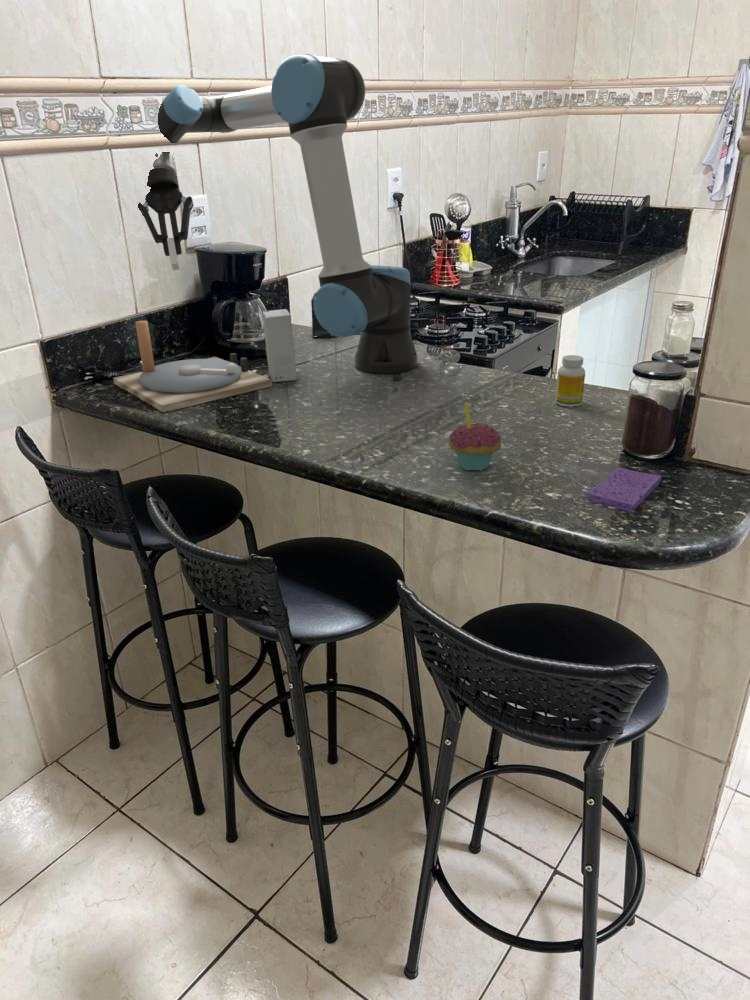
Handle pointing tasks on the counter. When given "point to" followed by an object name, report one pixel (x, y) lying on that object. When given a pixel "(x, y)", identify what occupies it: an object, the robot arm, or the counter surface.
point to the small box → (318, 324)
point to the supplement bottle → (570, 381)
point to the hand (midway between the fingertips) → (175, 266)
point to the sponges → (624, 489)
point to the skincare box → (279, 345)
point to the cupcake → (474, 443)
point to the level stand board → (181, 400)
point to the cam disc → (182, 370)
